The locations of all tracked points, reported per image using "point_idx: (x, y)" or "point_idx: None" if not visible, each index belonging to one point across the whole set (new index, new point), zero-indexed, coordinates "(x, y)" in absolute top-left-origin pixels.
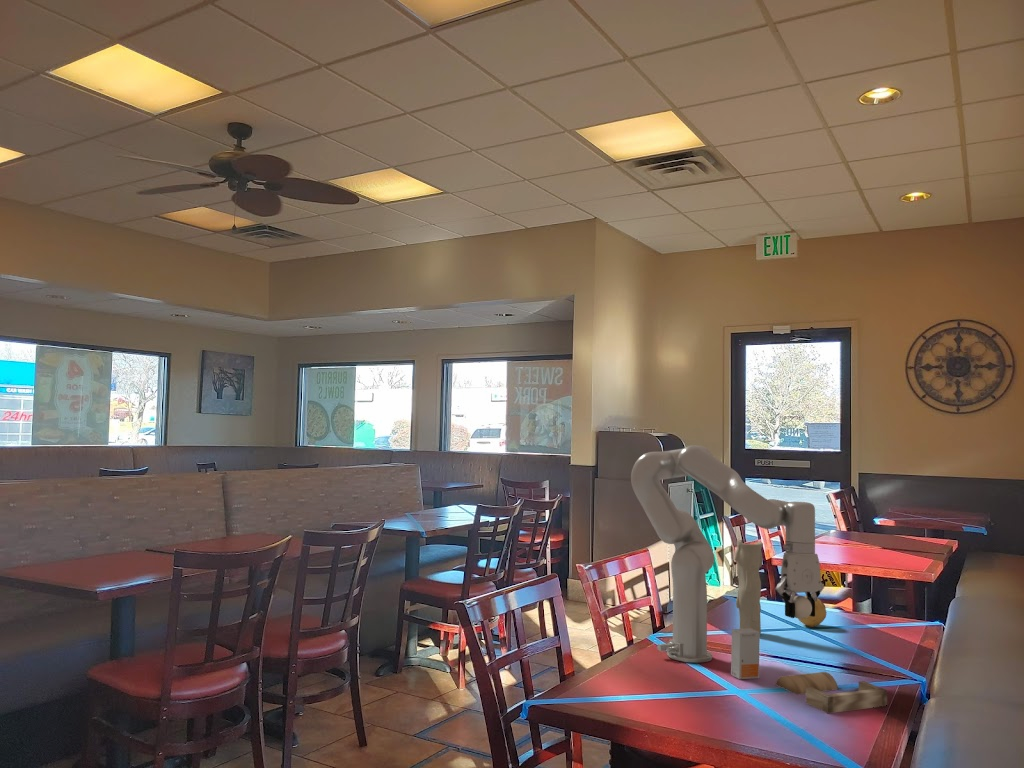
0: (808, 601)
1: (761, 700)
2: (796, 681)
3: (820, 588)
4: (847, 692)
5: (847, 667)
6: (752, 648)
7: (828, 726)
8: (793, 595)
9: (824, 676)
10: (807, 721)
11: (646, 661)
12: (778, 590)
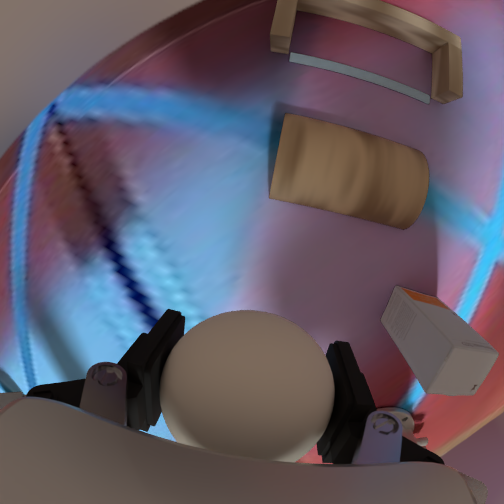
0: (217, 378)
1: (497, 175)
2: (414, 162)
3: (18, 399)
4: (397, 17)
5: (96, 238)
6: (448, 323)
7: (478, 30)
8: (372, 458)
9: (311, 138)
10: (494, 62)
11: (444, 428)
12: (480, 482)
